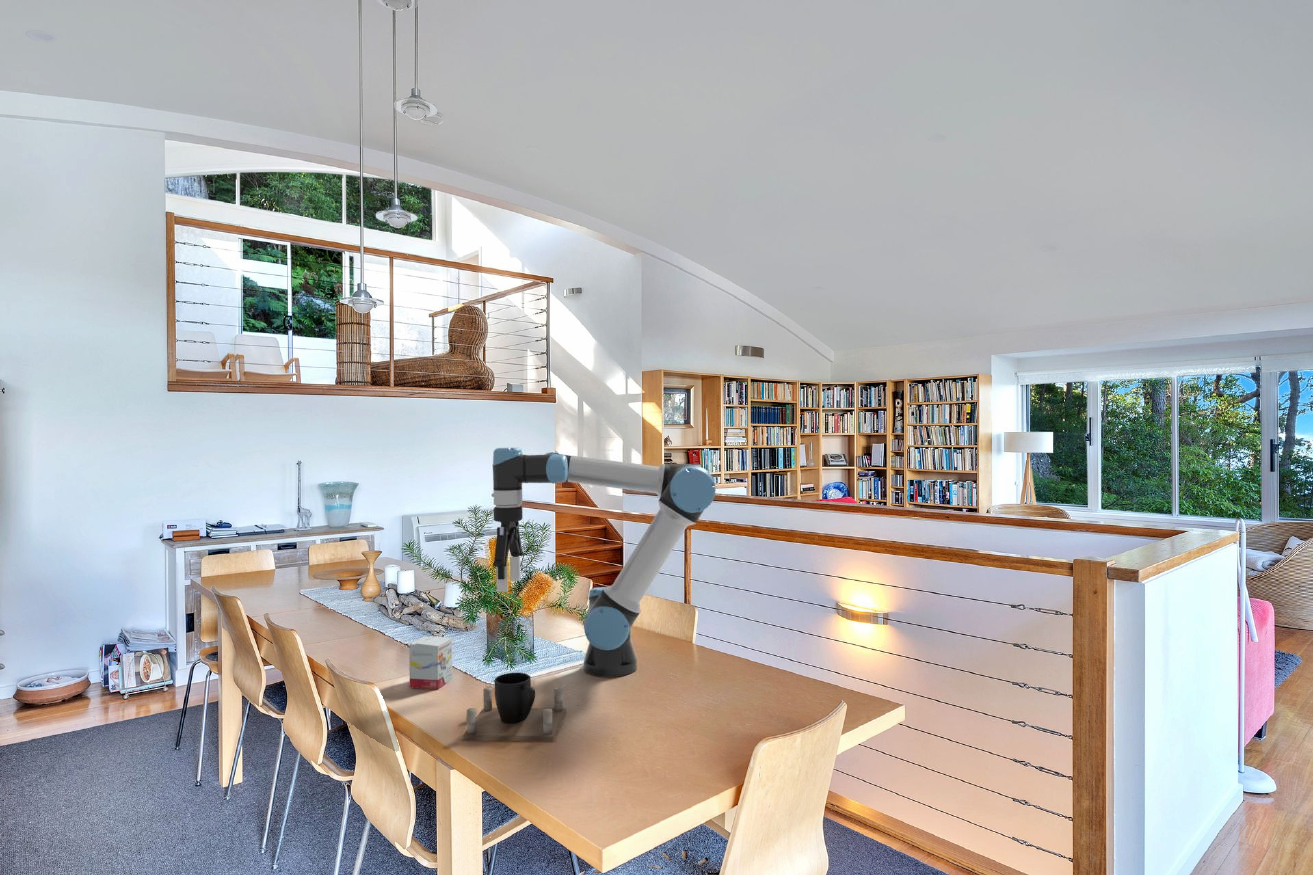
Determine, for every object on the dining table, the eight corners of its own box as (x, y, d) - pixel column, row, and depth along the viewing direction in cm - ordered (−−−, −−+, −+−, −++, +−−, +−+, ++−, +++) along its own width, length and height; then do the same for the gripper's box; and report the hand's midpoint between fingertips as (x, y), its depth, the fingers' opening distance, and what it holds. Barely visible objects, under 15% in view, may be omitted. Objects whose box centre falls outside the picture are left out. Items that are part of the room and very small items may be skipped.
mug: (516, 734, 162) (516, 691, 161) (488, 719, 170) (487, 678, 170) (547, 723, 167) (547, 681, 167) (518, 709, 176) (517, 669, 176)
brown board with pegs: (566, 713, 176) (565, 687, 176) (553, 741, 161) (553, 712, 160) (483, 712, 177) (483, 686, 177) (462, 740, 161) (462, 712, 161)
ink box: (438, 690, 193) (437, 645, 193) (408, 688, 195) (407, 643, 195) (453, 679, 202) (453, 636, 202) (424, 677, 204) (424, 634, 203)
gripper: (505, 501, 207) (506, 576, 208) (480, 511, 183) (481, 596, 183) (532, 501, 207) (533, 576, 207) (510, 511, 182) (511, 596, 182)
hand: (509, 586), depth 195 cm, fingers open, 13 cm apart
